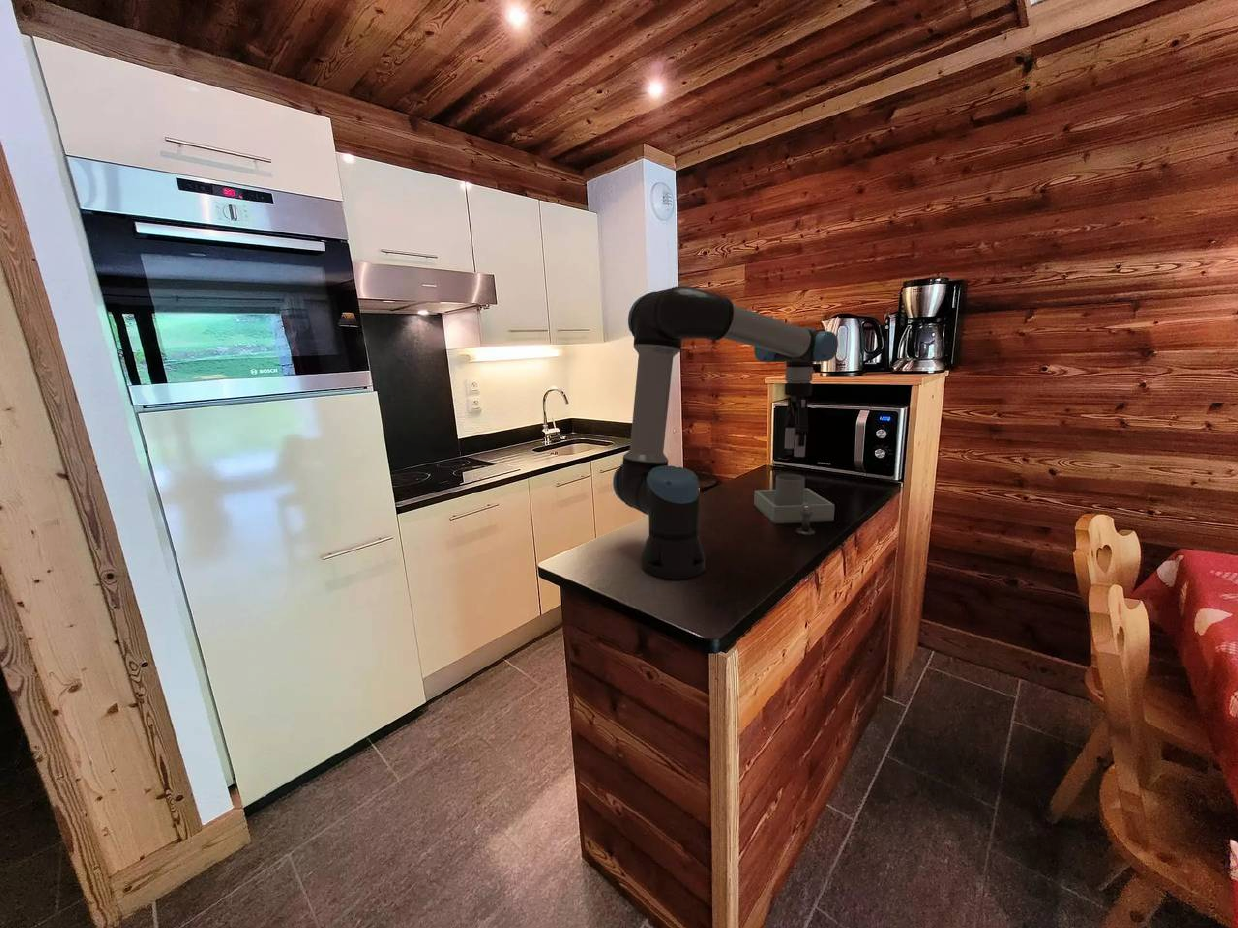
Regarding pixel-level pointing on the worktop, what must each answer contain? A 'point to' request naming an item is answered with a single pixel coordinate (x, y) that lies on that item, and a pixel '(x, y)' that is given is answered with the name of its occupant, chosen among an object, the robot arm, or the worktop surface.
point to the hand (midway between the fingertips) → (794, 452)
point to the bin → (793, 507)
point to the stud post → (806, 520)
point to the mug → (789, 490)
